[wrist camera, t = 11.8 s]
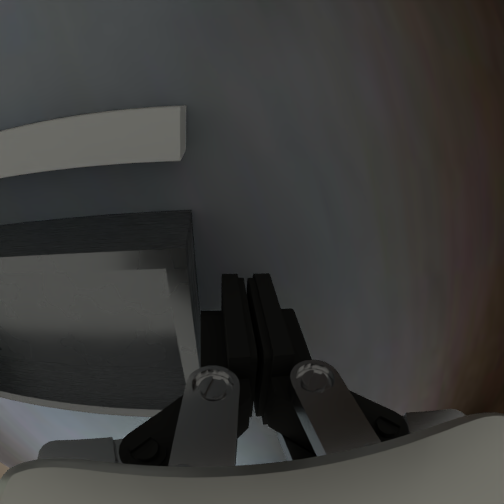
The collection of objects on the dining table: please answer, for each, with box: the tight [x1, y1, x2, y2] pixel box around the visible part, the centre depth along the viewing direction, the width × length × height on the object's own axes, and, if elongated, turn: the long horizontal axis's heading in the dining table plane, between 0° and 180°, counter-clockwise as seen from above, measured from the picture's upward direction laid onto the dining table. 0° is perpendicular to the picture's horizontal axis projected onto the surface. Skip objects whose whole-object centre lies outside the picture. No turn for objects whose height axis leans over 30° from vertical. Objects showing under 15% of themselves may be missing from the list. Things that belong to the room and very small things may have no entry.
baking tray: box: [0, 210, 201, 417], centre depth 11 cm, size 8×18×3 cm, turn 89°
